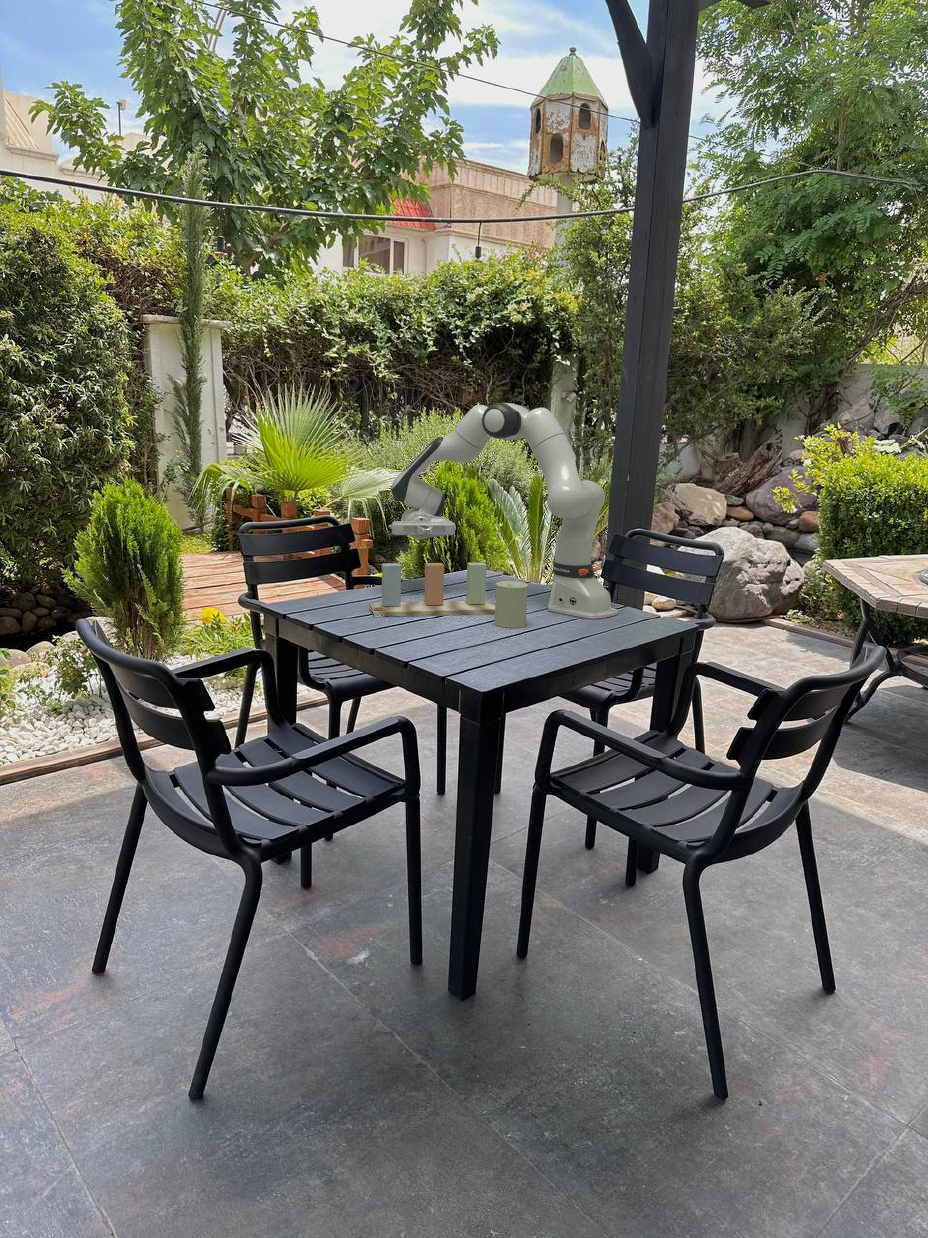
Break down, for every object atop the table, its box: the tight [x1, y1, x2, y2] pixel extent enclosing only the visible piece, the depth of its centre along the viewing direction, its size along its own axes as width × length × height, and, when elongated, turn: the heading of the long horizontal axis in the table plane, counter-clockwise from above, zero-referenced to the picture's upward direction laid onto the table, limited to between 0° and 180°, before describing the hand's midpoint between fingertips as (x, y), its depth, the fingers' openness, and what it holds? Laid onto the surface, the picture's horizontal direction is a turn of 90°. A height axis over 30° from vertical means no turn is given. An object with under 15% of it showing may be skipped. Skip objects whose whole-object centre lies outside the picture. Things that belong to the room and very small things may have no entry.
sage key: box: [465, 562, 488, 604], centre depth 241 cm, size 5×4×12 cm
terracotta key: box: [423, 562, 445, 605], centre depth 238 cm, size 5×4×12 cm
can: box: [493, 580, 529, 629], centre depth 224 cm, size 9×9×12 cm
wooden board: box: [369, 599, 496, 617], centre depth 237 cm, size 38×12×2 cm, turn 103°
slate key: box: [381, 562, 402, 606], centre depth 235 cm, size 5×4×12 cm
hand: (427, 531), depth 246 cm, fingers closed
